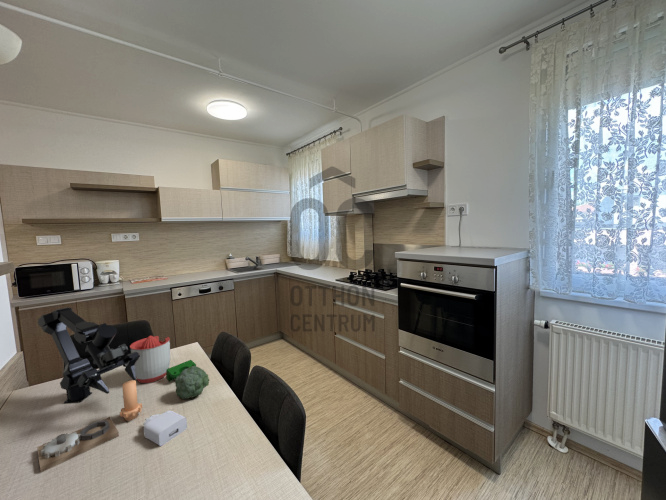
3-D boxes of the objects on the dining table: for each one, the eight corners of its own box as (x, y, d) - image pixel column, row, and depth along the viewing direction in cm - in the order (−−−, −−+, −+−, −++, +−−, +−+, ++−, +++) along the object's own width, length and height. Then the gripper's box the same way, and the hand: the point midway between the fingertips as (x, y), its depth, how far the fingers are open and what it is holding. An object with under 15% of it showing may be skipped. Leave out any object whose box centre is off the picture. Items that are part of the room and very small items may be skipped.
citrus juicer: (182, 368, 138) (179, 329, 136) (152, 388, 121) (149, 343, 120) (156, 365, 141) (153, 327, 140) (123, 384, 125) (120, 341, 123)
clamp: (176, 391, 126) (169, 378, 121) (169, 384, 129) (162, 372, 125) (200, 371, 134) (194, 359, 129) (193, 365, 137) (187, 353, 133)
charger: (161, 416, 103) (187, 429, 95) (134, 432, 94) (159, 447, 87) (160, 403, 102) (186, 416, 95) (133, 419, 94) (158, 433, 87)
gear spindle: (116, 424, 98) (113, 388, 98) (128, 412, 105) (125, 378, 104) (135, 422, 99) (133, 387, 98) (146, 410, 106) (144, 377, 105)
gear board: (40, 472, 79) (39, 456, 78) (37, 451, 87) (36, 436, 86) (118, 436, 93) (117, 421, 92) (110, 420, 100) (109, 407, 100)
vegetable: (219, 377, 125) (209, 379, 111) (197, 403, 120) (184, 408, 106) (199, 360, 126) (187, 359, 113) (177, 385, 122) (161, 388, 108)
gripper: (79, 350, 95) (101, 387, 92) (135, 331, 112) (156, 362, 109) (68, 369, 98) (89, 405, 95) (124, 348, 116) (144, 378, 112)
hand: (122, 386), depth 103 cm, fingers open, 9 cm apart
